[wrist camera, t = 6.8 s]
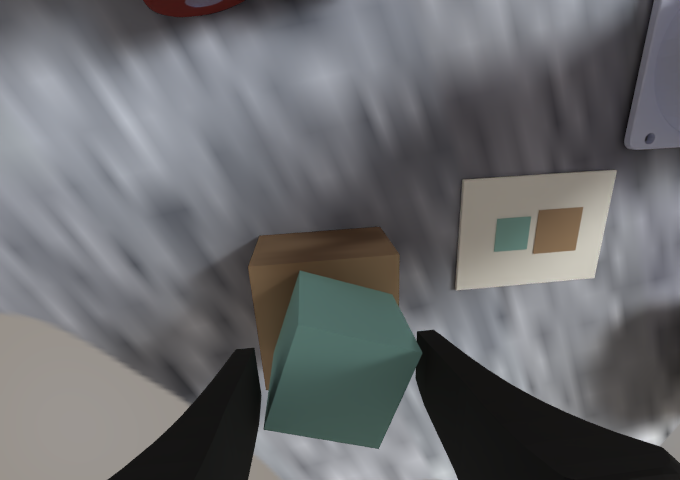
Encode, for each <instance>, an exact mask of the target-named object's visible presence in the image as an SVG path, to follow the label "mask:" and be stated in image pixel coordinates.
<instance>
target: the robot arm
mask: <svg viewBox="0 0 680 480" xmlns="http://www.w3.org/2000/svg"><path fill="white" fill-rule="evenodd" d="M646 136H647V140H646V141H645V138H646ZM624 144H625V146H626V147H627V148H628V149H633V150H643V149H659V148H676V147H680V0H654V3H653V8H652V13H651V17H650V22H649V27H648V31H647V36H646V41H645V45H644V50H643V55H642V60H641V64H640V69H639V74H638V78H637V83H636V88H635V92H634V97H633V102H632V107H631V111H630V116H629V121H628V125H627V130H626V135H625V139H624ZM417 343H418V345H419V347H420V349H421V351H422V355H421V357H420V360H419V362H418V364H417V366H416V381H417V384H418V388H419V391H420V394H421V397H422V400H423V403H424V406H425V408H426V410H427V412H428V414H429V417H430V419H431V421H432V423H433V425H434V427H435V430H436V432H437V434H438V436H439V438H440V440H441V442H442V444H443V447H444V449H445V451H446V453H447V455H448V457H449V459H450V462H451V464H452V466H453V468H454V470H455V473H456V475H457V478H458V480H680V463H679V462H678V461H677V460H676V459H675V458H674V457H673V456H671V455H670V454H669V453H668V452H667V451H666V450H665V449H664V448H662V447H659V446H656V445H653V444H650V443H647V442H644V441H641V440H638V439H635V438H632V437H629V436H626V435H623V434H620V433H617V432H614V431H611V430H608V429H606V428H603V427H601V426H598V425H595V424H593V423H590V422H588V421H585V420H583V419H580V418H578V417H576V416H573V415H571V414H569V413H566V412H564V411H562V410H560V409H558V408H556V407H553V406H551V405H549V404H547V403H545V402H543V401H541V400H539V399H537V398H535V397H533V396H531V395H529V394H528V393H526V392H524V391H522V390H520V389H519V388H517V387H515V386H513V385H511V384H510V383H508V382H506V381H505V380H503V379H502V378H500V377H499V376H497V375H495V374H494V373H492V372H491V371H489V370H488V369H486V368H485V367H483V366H482V365H480V364H479V363H477V362H476V361H475V360H473V359H472V358H470V357H469V356H468V355H466V354H465V353H464V352H462V351H461V350H460V349H458V348H457V347H456V346H454V345H453V344H452V343H450V342H449V341H448V340H447V339H445V338H444V337H443V336H441V335H440V334H439V333H437V332H436V331H435V330H427V331H417ZM260 407H261V389H260V383H259V376H258V370H257V363H256V356H255V350H254V348H247V349H236V350H235V352H234V353H233V354H232V355H231V357H230V358H229V359H228V361H227V362H226V363H225V365H224V366H223V367H222V368H221V370H220V371H219V372H218V374H217V375H216V376H215V378H214V379H213V380H212V381H211V382H210V384H209V385H208V386H207V387H206V389H205V390H204V391H203V392H202V393H201V395H200V396H199V397H198V398H197V399H196V400H195V401H194V402H193V404H192V405H191V406H190V407H189V408H188V409H187V410H186V411H185V412H184V414H183V415H182V416H181V417H180V418H179V419H178V420H177V421H176V422H175V423H174V424H173V425H172V426H171V427H170V428H169V429H168V430H167V431H166V432H165V433H164V434H163V435H161V436H160V437H159V438H158V439H157V440H156V441H155V442H154V443H153V444H152V445H150V446H149V447H148V448H147V449H145V450H144V451H143V452H142V453H141V454H140V455H138V456H137V457H136V458H135V459H133V460H132V461H131V462H130V463H129V464H128V465H126V466H125V467H124V468H122V469H121V470H120V471H119V472H117V473H116V474H115V475H113V476H112V477H111V478H109V479H108V480H248V476H249V472H250V467H251V462H252V457H253V452H254V447H255V442H256V437H257V432H258V427H259V419H260Z"/></svg>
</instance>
